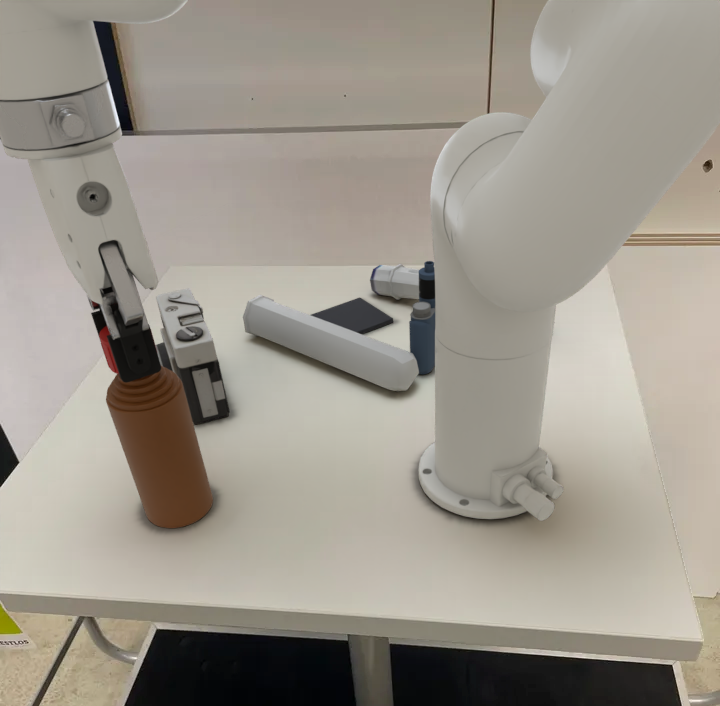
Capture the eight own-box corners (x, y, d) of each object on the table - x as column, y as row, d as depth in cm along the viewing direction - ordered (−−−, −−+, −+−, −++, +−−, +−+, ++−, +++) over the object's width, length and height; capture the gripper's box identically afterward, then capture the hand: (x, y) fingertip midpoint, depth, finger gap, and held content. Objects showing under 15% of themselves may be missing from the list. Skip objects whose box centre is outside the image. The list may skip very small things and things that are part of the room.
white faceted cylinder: (387, 257, 100) (555, 270, 86) (394, 303, 104) (556, 322, 90) (364, 271, 97) (534, 287, 83) (372, 317, 101) (536, 340, 86)
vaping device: (443, 355, 87) (444, 259, 79) (428, 377, 83) (427, 279, 76) (423, 351, 88) (422, 257, 80) (407, 373, 84) (404, 276, 77)
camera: (142, 372, 88) (120, 297, 82) (208, 357, 90) (191, 282, 84) (159, 434, 78) (134, 353, 72) (233, 415, 80) (215, 335, 74)
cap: (166, 352, 59) (158, 320, 57) (143, 377, 57) (133, 345, 55) (125, 347, 60) (115, 316, 58) (100, 372, 58) (89, 340, 56)
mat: (393, 322, 94) (393, 318, 94) (341, 342, 91) (341, 337, 91) (360, 301, 99) (359, 297, 99) (310, 318, 96) (309, 314, 96)
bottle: (226, 502, 69) (184, 334, 57) (170, 538, 65) (113, 367, 54) (188, 474, 72) (141, 311, 61) (133, 507, 69) (72, 341, 57)
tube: (431, 349, 80) (275, 293, 93) (402, 355, 76) (244, 295, 89) (422, 394, 83) (271, 333, 96) (394, 402, 79) (240, 337, 92)
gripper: (153, 132, 42) (214, 394, 54) (83, 88, 54) (146, 312, 65) (22, 160, 40) (116, 429, 51) (-22, 107, 51) (63, 337, 63)
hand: (132, 361), depth 58 cm, fingers closed on cap, 3 cm apart
